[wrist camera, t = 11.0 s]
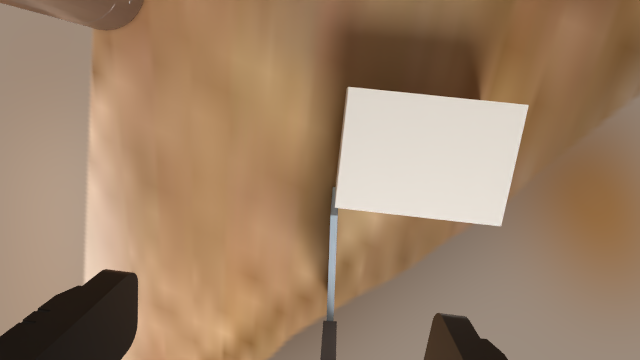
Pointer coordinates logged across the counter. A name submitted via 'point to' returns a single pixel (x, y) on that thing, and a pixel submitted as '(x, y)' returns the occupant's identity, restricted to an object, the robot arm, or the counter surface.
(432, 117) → the carton
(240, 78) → the counter surface
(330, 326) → the front flap
